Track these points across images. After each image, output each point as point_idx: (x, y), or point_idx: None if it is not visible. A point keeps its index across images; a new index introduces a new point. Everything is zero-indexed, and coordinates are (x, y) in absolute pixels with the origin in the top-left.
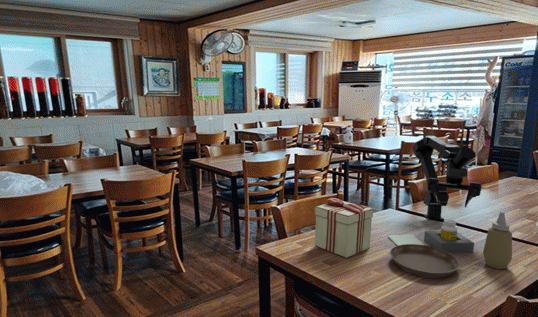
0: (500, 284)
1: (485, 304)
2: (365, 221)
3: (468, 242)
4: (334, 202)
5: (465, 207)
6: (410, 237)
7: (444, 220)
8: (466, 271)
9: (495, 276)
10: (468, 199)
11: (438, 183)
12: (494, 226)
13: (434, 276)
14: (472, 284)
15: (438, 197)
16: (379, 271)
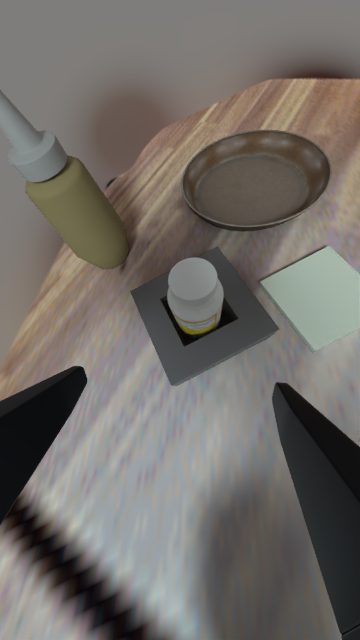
0: (126, 193)
1: (159, 140)
2: None
3: (145, 287)
4: None
5: (83, 378)
6: (314, 321)
7: (215, 272)
8: (170, 207)
9: (125, 213)
10: (3, 400)
11: None
12: (60, 145)
13: (223, 153)
14: (167, 173)
15: (314, 424)
16: (317, 137)
